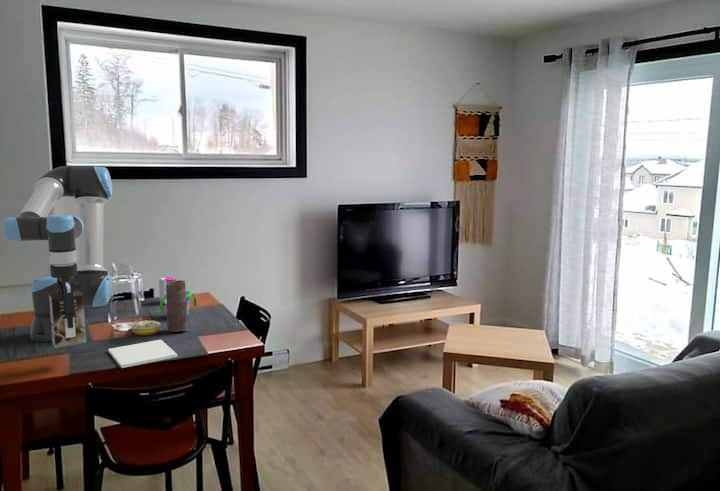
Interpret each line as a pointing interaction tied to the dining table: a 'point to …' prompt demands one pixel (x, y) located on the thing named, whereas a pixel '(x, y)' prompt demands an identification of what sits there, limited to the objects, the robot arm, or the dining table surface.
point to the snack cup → (188, 297)
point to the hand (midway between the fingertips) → (68, 333)
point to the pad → (142, 353)
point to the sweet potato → (176, 306)
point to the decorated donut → (146, 327)
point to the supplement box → (164, 287)
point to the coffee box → (59, 322)
